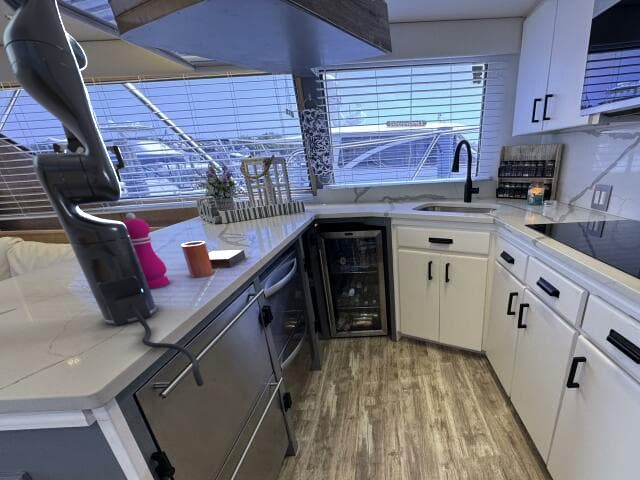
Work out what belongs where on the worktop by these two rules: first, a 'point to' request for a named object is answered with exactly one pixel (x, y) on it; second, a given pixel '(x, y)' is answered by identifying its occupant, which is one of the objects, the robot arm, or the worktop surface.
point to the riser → (226, 258)
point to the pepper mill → (146, 252)
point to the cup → (197, 258)
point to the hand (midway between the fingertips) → (99, 184)
